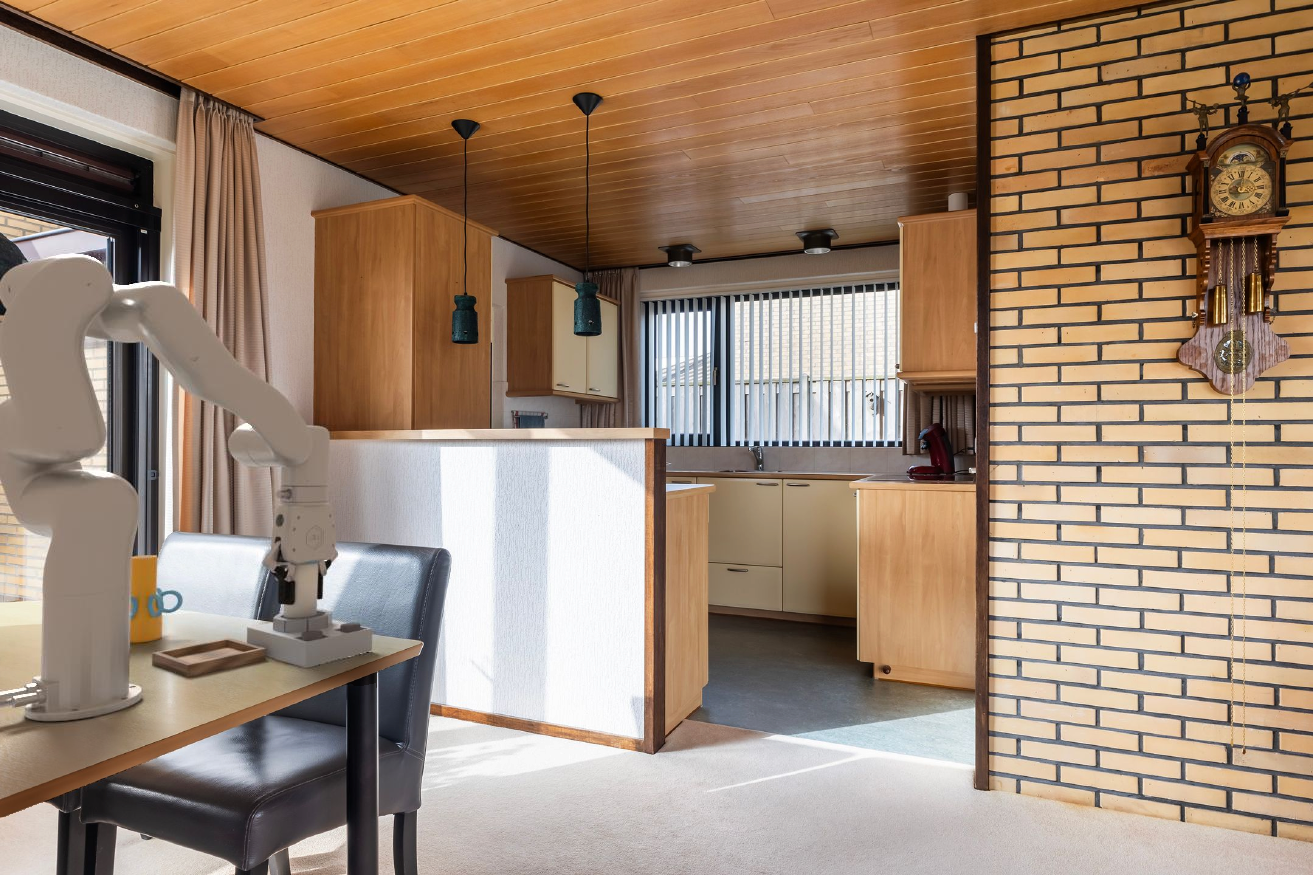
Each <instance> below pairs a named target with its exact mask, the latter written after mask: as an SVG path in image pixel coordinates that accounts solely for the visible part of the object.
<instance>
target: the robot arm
mask: <svg viewBox="0 0 1313 875" xmlns="http://www.w3.org/2000/svg"><path fill="white" fill-rule="evenodd" d="M0 301H1V303H2V305H3V307H4V308H5V309H6V311H5V313H4V315H3V318H2V320H1V324H0V364H1V367H2V371H3V374H4V378H5V381H6V386H7V391H8V392H9V397H10V398H8V399H5V400H4V401H3V402H1V403H0V484H1V486H2V489H3V492H4V495H5V497H6V500H7V503H8V505H9V508H10V510H11V512H12V514H13V516H14V518H15V520H17V522H18V523H19V524H20V525H21V526H22V527H23V528H24V529H26V530H27V531H28V532H30V533H33V534H35V535H37V536H41V537H46V538H51V540H50V544H49V547H48V551H47V553H46V556H45V561H44V566H43V573H42V574H43V575H42V592H41V593H42V611H41V612H42V616H41V618H42V619H41V651H40V652H41V656H40V658H41V660H40V661H41V662H40V675H38V676H33V677H32V682H31V683H28V684H25V685H23V688H16V689H7V690H4V691H0V708H1V709H2V708H6V707H10V706H11V707H12V709H15V708H20V707H24V713H23V714H24V716H25V718H27V719H29V720H33V721H39V722H62V721H63V722H64V721H72V720H73V721H74V720H80V719H88V718H92V717H97V716H103V715H106V714H109V713H110V714H111V713H113V712H117V711H120V710H123V709H125V708H129V707H130V706H133V705H135V704H136V703H138V702H139V701H141V699H142V698H143V694H144V693H143V688H142V687H141V686H140V685H137V684H134V683H130V660H131V657H130V652H131V643H130V613H131V567H132V557H133V554H134V553H133V551H134V544H135V539H136V534H137V530H138V526H139V523H140V522H139V521H140V515H141V502H140V499H139V498H140V497H139V494H138V493H137V491H136V489H135V488H134V487H133V485H132V484H131V483H130V482H129V481H128V480H126V479H125V478H123V477H122V476H120V475H117V474H115V473H113V472H109V471H105V470H97V469H96V470H95V469H84V468H83V465H82V463H81V462H83V461H87V460H88V459H91V458H93V457H95V456H96V455H97V454H98V453H99V452H101V451H102V449H103V447H104V445H106V444H105V443H106V441H107V427H106V424H105V423H106V422H105V419H104V416H103V414H102V413H103V412H102V411H101V410H102V409H101V407H100V404H99V400H98V397H97V394H96V391H95V388H94V386H93V381H92V379H91V376H90V372H89V368H88V365H87V360H86V354H85V341H86V337H88V338H93V339H97V340H104V341H109V342H110V341H111V342H118V343H124V344H125V343H126V344H129V343H130V344H131V343H133V344H134V343H135V344H136V343H143V344H144V345H145V346H146V347H147V348H148V350H149V351H150V352H151V353H152V355H154V357H155V358H156V359H157V360H158V361H159V362H160V364H161V365H162V366H163V367H164V368H165V370H167V371H168V373H169V374H170V376H171V377H172V378H173V380H175V381H176V382H177V383H178V385H179V387H181V389H182V390H183V391H185V392H186V393H188V394H189V395H190V396H192V397H194V398H197V399H199V400H201V401H203V402H206V403H208V404H211V405H213V406H217V407H218V408H221V409H224V410H226V411H228V412H230V413H232V414H233V415H235V416H236V417H237V418H240V419H241V420H242V421H243V422H245V423H243V424H241V425H240V426H238V427H236V428H235V429H234V430H233V432H231V434H230V436H229V439H228V442H227V443H228V444H227V445H228V446H227V447H228V452H229V453H230V455H231V456H232V457H233V459H234V460H235V461H237V462H238V463H240V464H242V465H245V466H247V467H255V468H280V470H281V471H280V490H277V491H276V492H275V495H276V498H277V499H279V504H277V506H276V510H275V513H274V517H273V525H272V529H271V531H272V532H271V540H270V541H271V542H270V550H269V551H268V553H267V554H266V555H265V557H264V559H263V560H262V566H264V567H265V568H266V569H267V570H269V572H270V573H271V574H272V575H273V576H274V579H275V581H278V588H277V589H278V590H277V591H278V592H277V603H278V604H279V605H284V604H285V605H293V604H294V603H295V581H291V580H292V578H293V574H294V571H295V567H296V564H301V563H307V562H309V561H313V560H318V561H320V562H319V563H318V589H317V601H319V600H322V599H323V598H324V596H323V595H324V577H326V576H327V575H328V570H329V569H330V567H331V565H332V563H333V562H334V561H335V560H336V559H337V558H338V556H339V553H338V550H337V549H336V526H335V518H334V511H333V506H332V503H329V502H328V500H329V473H330V472H329V470H330V469H329V468H330V446H331V443H330V440H331V438H330V436H331V435H330V431H329V430H328V428H326V427H324V426H320V425H307V423H306V422H305V420H304V419H303V417H302V416H301V414H300V413H299V412H298V411H297V410H296V408H295V406H293V404H292V403H291V401H289V399H288V398H287V397H285V395H283V393H281V392H280V391H279V390H278V389H277V388H275V387H274V386H273V385H271V384H270V383H269V382H267V381H266V380H264V379H263V378H262V377H260V376H259V375H257V374H256V373H255V372H254V371H252V370H251V369H249V368H248V367H246V366H244V365H243V364H241V362H239V361H237V359H236V358H235V357H234V356H233V354H232V353H231V352H230V351H229V350H228V348H227V347H226V345H225V344H224V343H223V342H222V341H221V339H220V338H219V337H218V336H217V334H216V333H215V332H214V330H213V329H212V328H211V326H210V325H209V324H208V323H207V321H206V320H205V318H204V317H203V316H202V315H201V314H200V312H199V311H198V309H197V308H196V307H195V306H194V305H193V303H192V302H191V301H190V300H189V298H188V297H187V295H185V293H184V292H183V291H182V290H180V289H179V288H178V287H176V286H175V285H173V284H170V283H168V282H163V281H146V282H139V283H133V284H129V285H119V284H114V278H113V276H112V274H111V272H110V271H109V270H108V268H107V266H105V265H104V264H103V263H102V262H101V261H99V260H98V259H96V258H94V257H91V256H89V255H85V254H77V253H67V254H59V255H53V256H49V257H45V258H41V259H38V260H34V261H28V262H25V263H21V264H18V265H16V266H14V267H12V268H10V269H9V270H8V271H6V272H5V274H4V275H3V276H2V277H1V279H0ZM285 561H288V562H285ZM286 566H288V567H287V570H286V571H285V569H286Z"/></svg>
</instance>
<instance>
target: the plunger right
mask: <svg viewBox="0 0 1313 875" xmlns="http://www.w3.org/2000/svg"><path fill="white" fill-rule="evenodd" d="M361 626H362V625H361V623H360V622H346V623H345V624H342V625H340V632H344V633H350V632H354V631H359V630H360V628H361Z"/></svg>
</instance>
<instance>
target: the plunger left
mask: <svg viewBox="0 0 1313 875" xmlns="http://www.w3.org/2000/svg"><path fill="white" fill-rule="evenodd" d="M322 638H323V632H322V631H306V632H303V633H301V640H303V641H307V642H308V641H313V640H317V639H322Z"/></svg>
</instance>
